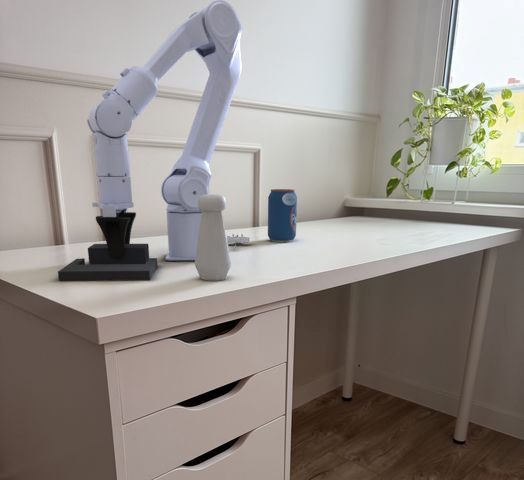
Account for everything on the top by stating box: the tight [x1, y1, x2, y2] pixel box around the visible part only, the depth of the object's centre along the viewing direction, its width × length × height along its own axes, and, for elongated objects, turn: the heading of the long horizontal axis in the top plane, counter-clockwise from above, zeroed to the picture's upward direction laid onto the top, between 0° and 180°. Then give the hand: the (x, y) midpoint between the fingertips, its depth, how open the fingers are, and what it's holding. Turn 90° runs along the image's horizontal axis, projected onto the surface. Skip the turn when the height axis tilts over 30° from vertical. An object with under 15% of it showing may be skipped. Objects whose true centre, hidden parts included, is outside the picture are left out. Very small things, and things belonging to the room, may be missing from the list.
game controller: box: [226, 233, 250, 248], centre depth 117 cm, size 6×12×3 cm, turn 16°
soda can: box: [267, 188, 298, 243], centre depth 125 cm, size 7×7×12 cm
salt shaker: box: [194, 193, 232, 282], centre depth 81 cm, size 6×6×13 cm
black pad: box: [57, 257, 158, 282], centre depth 86 cm, size 14×12×2 cm
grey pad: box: [87, 243, 150, 265], centre depth 95 cm, size 10×6×3 cm, turn 95°
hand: (120, 254), depth 95 cm, fingers closed on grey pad, 5 cm apart
